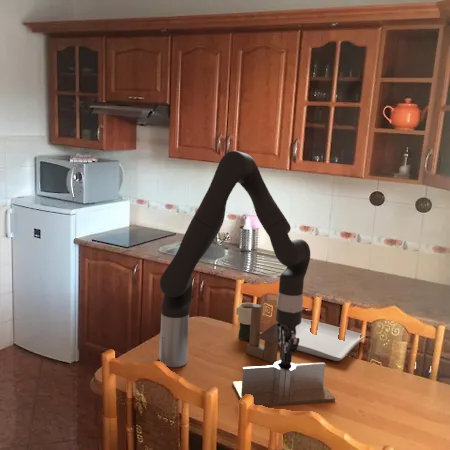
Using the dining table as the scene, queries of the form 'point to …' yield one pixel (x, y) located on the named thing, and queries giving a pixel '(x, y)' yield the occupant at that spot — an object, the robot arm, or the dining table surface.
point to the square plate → (325, 340)
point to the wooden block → (262, 337)
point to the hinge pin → (285, 366)
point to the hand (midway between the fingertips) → (285, 360)
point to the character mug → (244, 320)
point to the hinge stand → (284, 384)
